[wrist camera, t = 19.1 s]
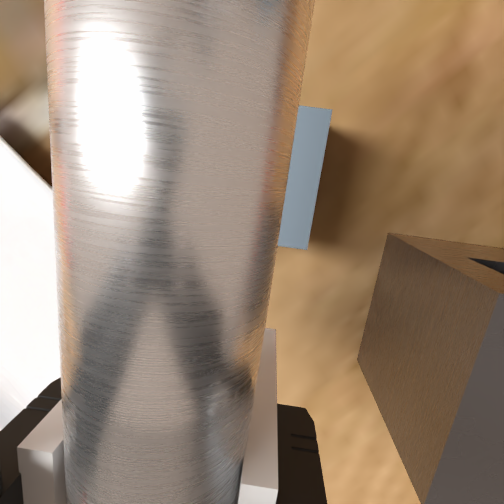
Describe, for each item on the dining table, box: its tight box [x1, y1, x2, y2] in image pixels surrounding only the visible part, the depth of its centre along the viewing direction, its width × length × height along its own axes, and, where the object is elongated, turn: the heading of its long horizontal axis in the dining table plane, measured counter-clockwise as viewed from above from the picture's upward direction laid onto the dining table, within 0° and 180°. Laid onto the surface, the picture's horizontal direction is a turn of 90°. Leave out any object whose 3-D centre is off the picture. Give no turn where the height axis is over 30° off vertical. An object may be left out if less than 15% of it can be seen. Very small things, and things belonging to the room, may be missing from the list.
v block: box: [278, 106, 332, 250], centre depth 21 cm, size 8×9×5 cm
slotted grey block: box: [357, 233, 504, 504], centre depth 19 cm, size 11×10×12 cm
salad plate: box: [0, 136, 61, 431], centre depth 26 cm, size 21×21×3 cm
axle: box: [44, 0, 315, 504], centre depth 6 cm, size 20×4×4 cm, turn 173°
